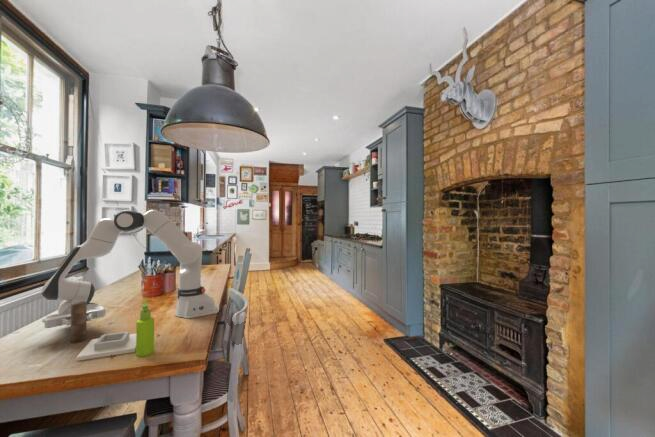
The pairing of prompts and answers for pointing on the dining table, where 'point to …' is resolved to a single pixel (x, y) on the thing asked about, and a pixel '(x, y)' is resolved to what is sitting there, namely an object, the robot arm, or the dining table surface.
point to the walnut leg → (78, 321)
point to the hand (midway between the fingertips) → (79, 321)
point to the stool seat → (109, 346)
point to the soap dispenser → (145, 332)
